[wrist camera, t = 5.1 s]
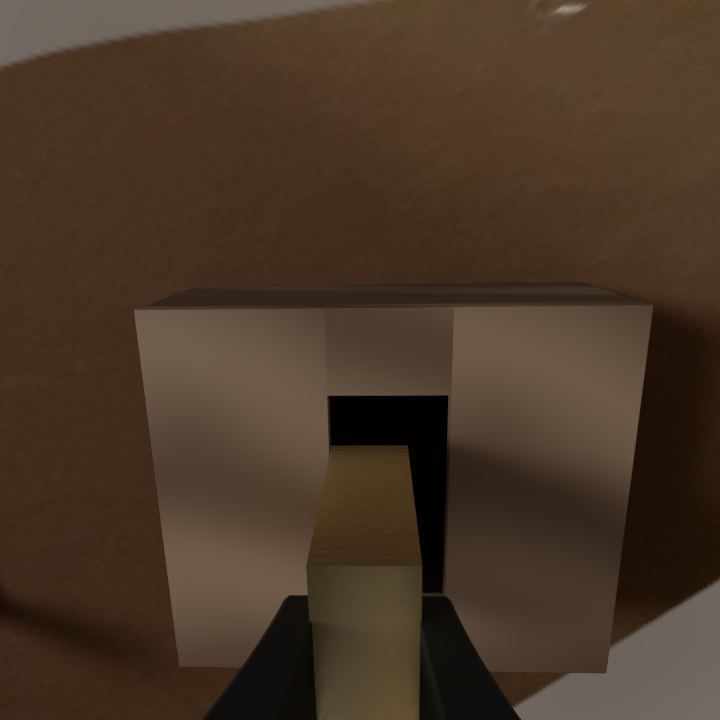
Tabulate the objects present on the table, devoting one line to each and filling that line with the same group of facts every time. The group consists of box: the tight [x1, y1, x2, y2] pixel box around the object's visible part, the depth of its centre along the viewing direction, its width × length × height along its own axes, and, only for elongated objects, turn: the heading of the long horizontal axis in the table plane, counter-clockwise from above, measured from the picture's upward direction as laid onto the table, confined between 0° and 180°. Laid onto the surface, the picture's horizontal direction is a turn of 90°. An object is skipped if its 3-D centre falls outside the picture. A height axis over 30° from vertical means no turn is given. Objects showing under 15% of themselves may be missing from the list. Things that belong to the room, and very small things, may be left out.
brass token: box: [306, 445, 422, 720], centre depth 12 cm, size 5×2×5 cm, turn 1°
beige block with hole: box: [134, 283, 653, 673], centre depth 18 cm, size 12×14×5 cm
